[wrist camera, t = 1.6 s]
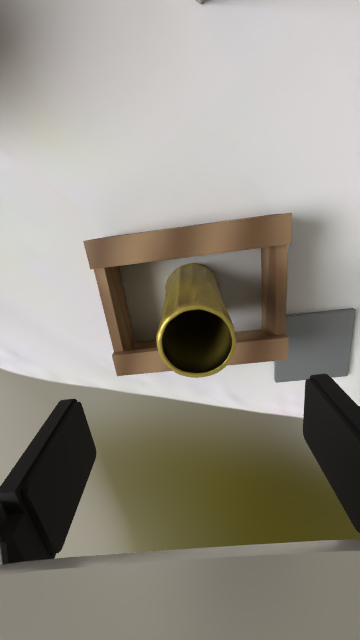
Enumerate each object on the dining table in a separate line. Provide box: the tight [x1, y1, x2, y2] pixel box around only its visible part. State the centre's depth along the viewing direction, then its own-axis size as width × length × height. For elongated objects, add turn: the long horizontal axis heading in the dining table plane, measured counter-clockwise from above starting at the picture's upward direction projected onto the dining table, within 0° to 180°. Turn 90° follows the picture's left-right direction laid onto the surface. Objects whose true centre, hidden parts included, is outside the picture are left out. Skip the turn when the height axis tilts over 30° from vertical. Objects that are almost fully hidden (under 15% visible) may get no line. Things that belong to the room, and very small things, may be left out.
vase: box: [156, 264, 236, 377], centre depth 23 cm, size 6×6×14 cm
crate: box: [83, 213, 292, 376], centre depth 27 cm, size 18×14×6 cm
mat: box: [275, 308, 355, 382], centre depth 32 cm, size 9×9×1 cm
